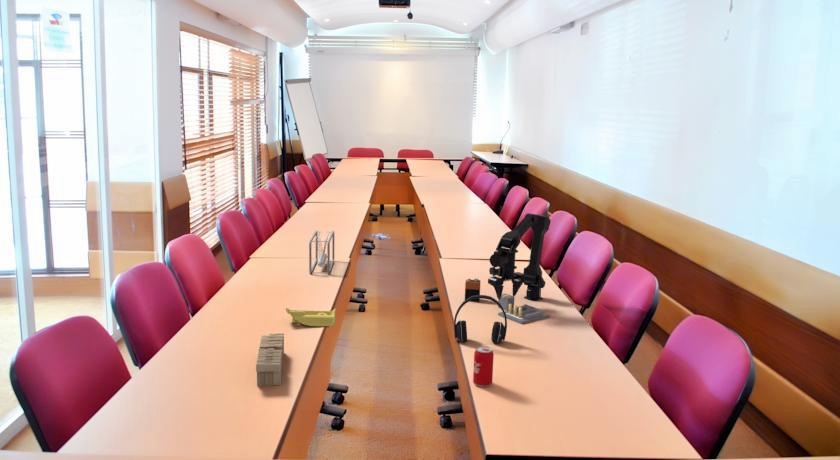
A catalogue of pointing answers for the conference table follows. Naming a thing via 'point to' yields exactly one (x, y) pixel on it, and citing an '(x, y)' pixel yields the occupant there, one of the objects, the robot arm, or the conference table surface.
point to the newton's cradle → (323, 256)
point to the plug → (506, 301)
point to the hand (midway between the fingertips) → (506, 297)
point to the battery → (472, 288)
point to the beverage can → (483, 366)
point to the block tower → (270, 360)
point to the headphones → (498, 327)
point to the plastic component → (313, 317)
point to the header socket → (524, 314)
